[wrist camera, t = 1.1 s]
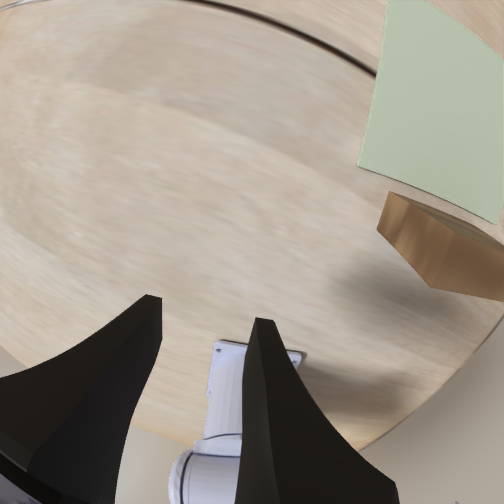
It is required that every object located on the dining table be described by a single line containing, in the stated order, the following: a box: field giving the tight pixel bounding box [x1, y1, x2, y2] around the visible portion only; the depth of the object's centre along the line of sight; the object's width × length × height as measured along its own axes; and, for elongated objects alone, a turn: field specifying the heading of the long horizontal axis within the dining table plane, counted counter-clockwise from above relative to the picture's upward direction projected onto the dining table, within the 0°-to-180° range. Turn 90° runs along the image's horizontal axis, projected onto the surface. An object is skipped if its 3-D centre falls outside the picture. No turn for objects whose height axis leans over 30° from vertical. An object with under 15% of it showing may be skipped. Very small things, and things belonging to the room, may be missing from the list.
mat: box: [356, 0, 504, 225], centre depth 13 cm, size 16×16×1 cm
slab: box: [377, 191, 504, 302], centre depth 14 cm, size 3×10×8 cm, turn 79°
